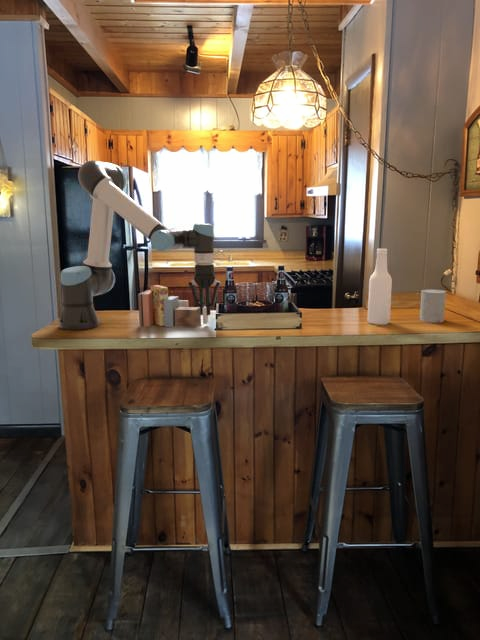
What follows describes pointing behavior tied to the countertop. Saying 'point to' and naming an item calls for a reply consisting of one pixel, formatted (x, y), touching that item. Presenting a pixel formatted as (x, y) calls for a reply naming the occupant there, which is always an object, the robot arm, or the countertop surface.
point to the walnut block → (187, 317)
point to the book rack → (181, 304)
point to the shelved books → (169, 309)
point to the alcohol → (380, 291)
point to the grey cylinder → (432, 305)
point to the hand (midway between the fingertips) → (205, 323)
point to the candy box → (159, 303)
